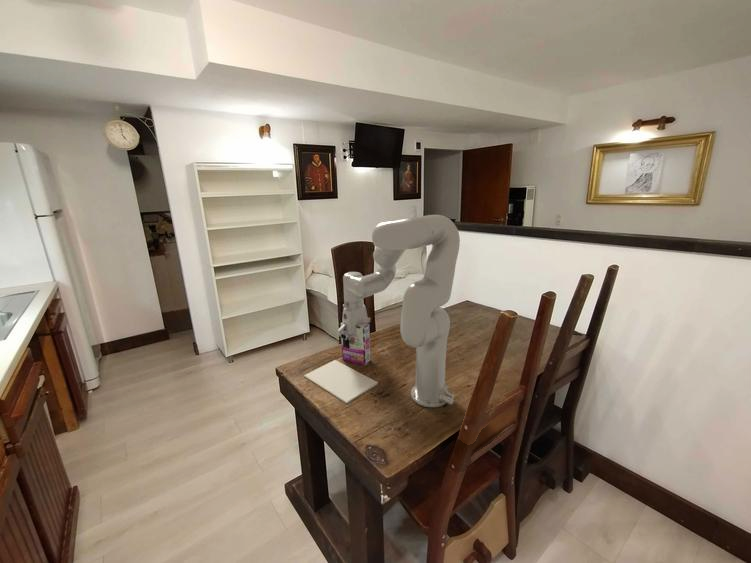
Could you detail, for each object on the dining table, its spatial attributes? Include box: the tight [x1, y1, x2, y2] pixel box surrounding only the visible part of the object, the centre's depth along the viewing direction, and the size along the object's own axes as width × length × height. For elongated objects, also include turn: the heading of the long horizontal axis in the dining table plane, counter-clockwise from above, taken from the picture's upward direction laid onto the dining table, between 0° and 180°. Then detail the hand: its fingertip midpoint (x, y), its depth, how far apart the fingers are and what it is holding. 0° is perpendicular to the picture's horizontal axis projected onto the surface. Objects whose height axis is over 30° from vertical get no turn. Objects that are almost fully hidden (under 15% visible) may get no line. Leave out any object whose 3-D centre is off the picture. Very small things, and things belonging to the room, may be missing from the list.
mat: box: [303, 359, 379, 404], centre depth 120 cm, size 24×15×1 cm, turn 47°
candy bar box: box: [340, 322, 372, 366], centre depth 131 cm, size 11×5×16 cm, turn 62°
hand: (355, 343), depth 132 cm, fingers open, 9 cm apart
